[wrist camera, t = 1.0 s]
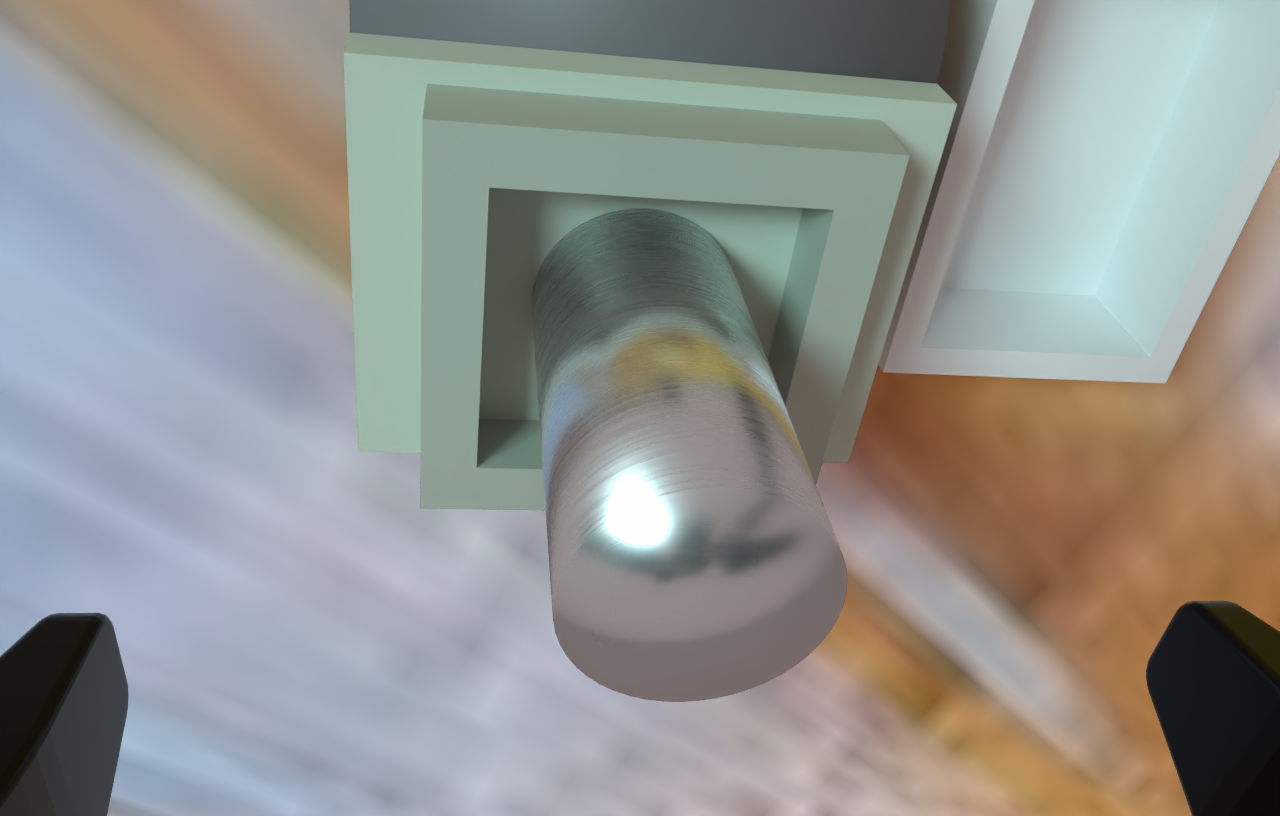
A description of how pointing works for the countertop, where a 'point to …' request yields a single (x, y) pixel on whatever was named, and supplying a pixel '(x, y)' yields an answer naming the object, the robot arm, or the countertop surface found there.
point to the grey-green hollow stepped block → (624, 197)
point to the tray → (1087, 184)
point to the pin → (671, 469)
